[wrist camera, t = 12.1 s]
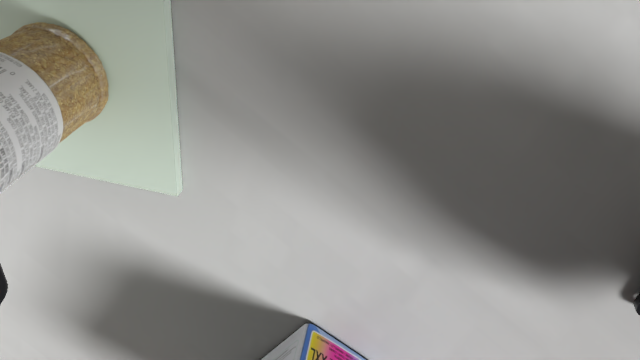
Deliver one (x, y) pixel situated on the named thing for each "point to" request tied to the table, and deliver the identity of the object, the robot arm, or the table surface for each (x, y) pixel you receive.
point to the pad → (118, 90)
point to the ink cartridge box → (311, 347)
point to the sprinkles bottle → (44, 94)
